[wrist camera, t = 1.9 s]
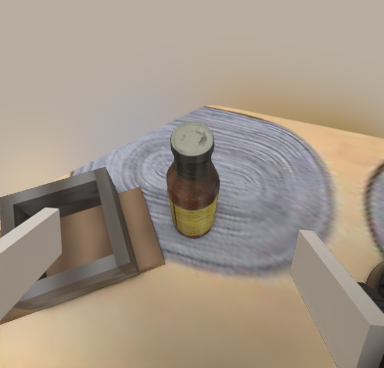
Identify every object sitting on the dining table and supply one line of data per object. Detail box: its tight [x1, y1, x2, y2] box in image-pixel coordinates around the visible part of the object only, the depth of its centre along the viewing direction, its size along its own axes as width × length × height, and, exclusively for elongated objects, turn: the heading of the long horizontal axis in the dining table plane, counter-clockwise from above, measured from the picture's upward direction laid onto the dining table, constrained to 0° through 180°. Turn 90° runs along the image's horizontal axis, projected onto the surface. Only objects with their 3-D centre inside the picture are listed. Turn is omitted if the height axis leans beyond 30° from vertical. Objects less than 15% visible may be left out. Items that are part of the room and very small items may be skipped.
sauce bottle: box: [166, 122, 220, 238], centre depth 34 cm, size 6×6×20 cm
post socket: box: [0, 167, 165, 325], centre depth 35 cm, size 24×13×10 cm, turn 110°
